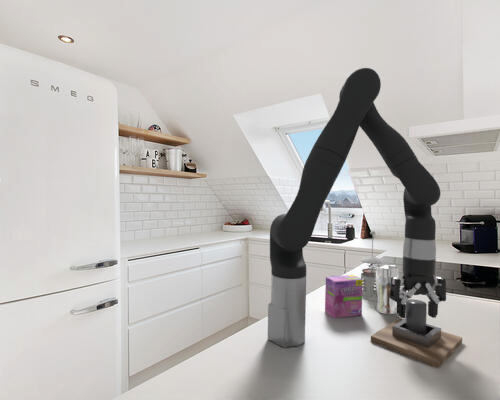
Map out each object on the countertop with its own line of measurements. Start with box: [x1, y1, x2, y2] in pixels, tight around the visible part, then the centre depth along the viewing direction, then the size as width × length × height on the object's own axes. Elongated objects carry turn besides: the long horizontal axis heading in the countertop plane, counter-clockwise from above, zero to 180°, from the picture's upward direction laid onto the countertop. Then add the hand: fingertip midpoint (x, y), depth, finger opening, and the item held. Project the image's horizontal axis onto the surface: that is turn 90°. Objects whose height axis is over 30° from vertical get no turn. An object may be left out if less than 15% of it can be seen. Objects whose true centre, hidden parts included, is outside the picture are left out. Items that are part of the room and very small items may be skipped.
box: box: [324, 274, 364, 319], centre depth 99 cm, size 10×6×12 cm, turn 105°
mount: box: [370, 317, 463, 369], centre depth 80 cm, size 18×16×4 cm
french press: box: [360, 230, 384, 302], centre depth 115 cm, size 10×12×25 cm
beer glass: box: [375, 263, 399, 316], centre depth 101 cm, size 7×7×15 cm
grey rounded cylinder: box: [405, 298, 428, 335], centre depth 80 cm, size 5×5×9 cm
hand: (416, 316), depth 80 cm, fingers open, 8 cm apart
